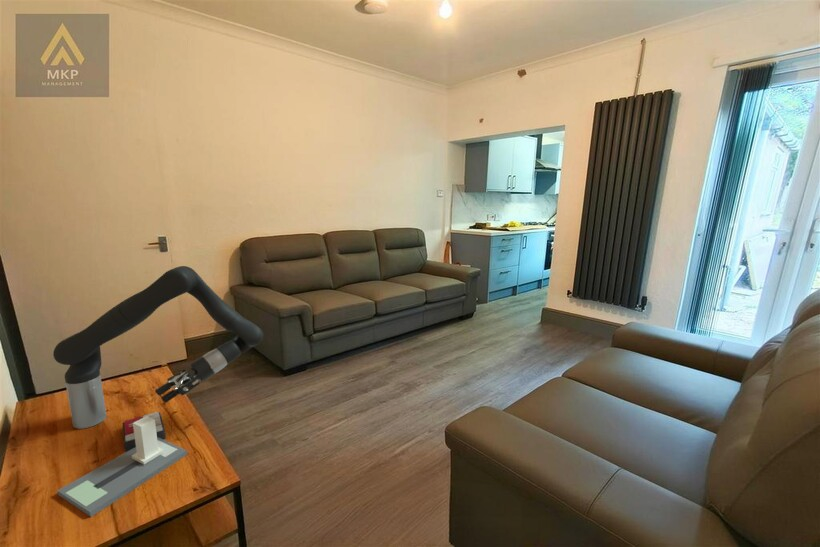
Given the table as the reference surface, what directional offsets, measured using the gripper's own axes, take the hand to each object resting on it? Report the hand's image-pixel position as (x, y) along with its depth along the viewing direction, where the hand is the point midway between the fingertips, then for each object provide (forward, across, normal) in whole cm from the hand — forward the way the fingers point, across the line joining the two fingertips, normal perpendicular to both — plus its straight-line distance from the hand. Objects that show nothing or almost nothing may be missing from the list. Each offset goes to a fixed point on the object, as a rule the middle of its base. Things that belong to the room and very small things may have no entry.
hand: (159, 396), depth 115 cm
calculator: (+9, -17, +15) cm, 25 cm away
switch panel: (+17, +1, +14) cm, 22 cm away
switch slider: (+11, 0, +14) cm, 18 cm away
